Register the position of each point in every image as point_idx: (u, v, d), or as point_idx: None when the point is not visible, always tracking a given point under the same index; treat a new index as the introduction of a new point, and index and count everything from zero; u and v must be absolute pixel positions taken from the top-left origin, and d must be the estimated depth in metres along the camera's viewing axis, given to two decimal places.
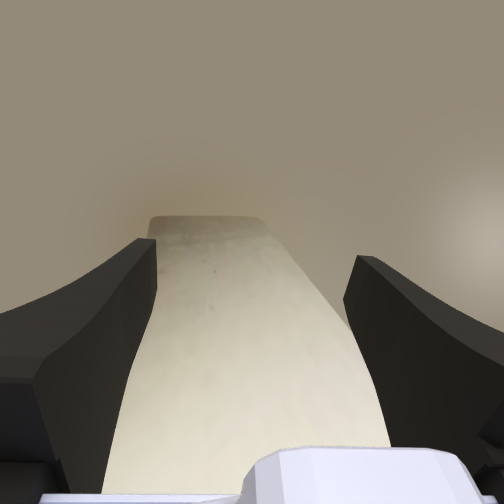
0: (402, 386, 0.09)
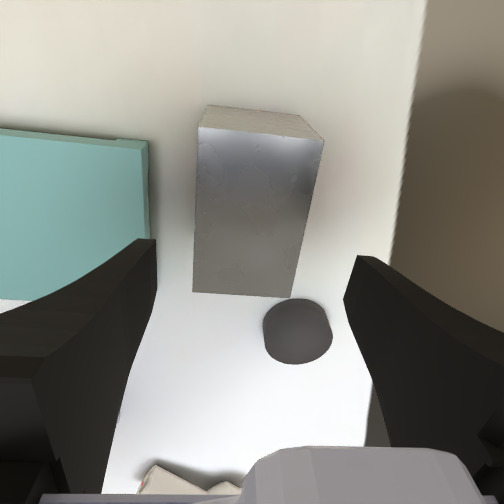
0: (402, 386, 0.09)
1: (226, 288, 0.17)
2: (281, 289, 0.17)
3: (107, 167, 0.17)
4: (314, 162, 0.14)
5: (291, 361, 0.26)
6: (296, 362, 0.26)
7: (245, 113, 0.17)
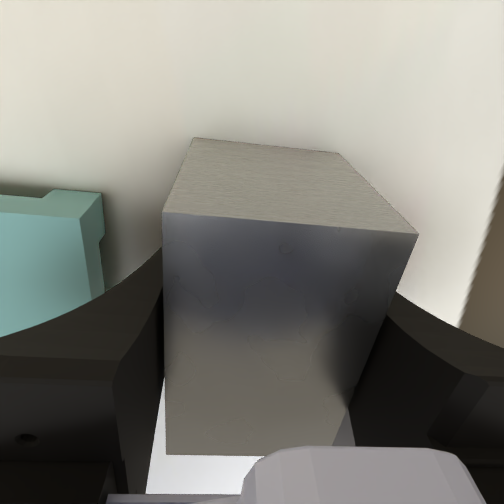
0: (365, 385, 0.09)
1: (222, 449, 0.10)
2: None
3: (25, 245, 0.10)
4: (394, 271, 0.07)
5: None
6: None
7: (254, 156, 0.10)
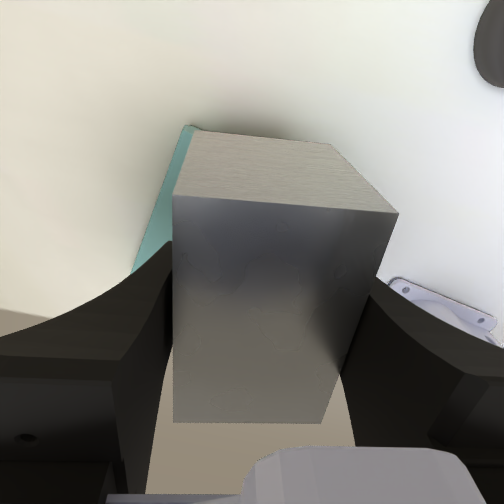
0: (365, 385, 0.09)
1: (225, 417, 0.11)
2: (309, 414, 0.11)
3: None
4: (378, 247, 0.08)
5: None
6: None
7: (252, 147, 0.11)
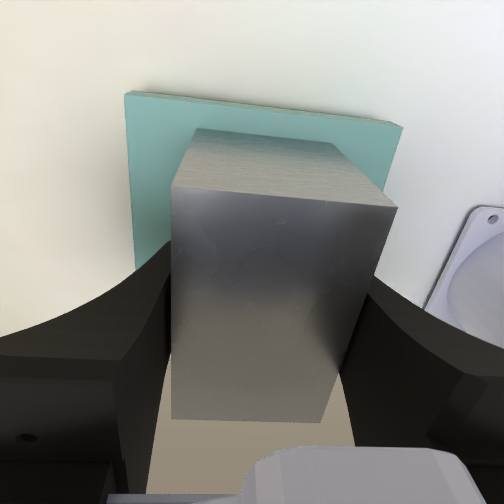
0: (365, 385, 0.09)
1: (223, 414, 0.11)
2: (308, 413, 0.11)
3: (157, 148, 0.13)
4: (376, 241, 0.08)
5: None
6: None
7: (253, 144, 0.11)
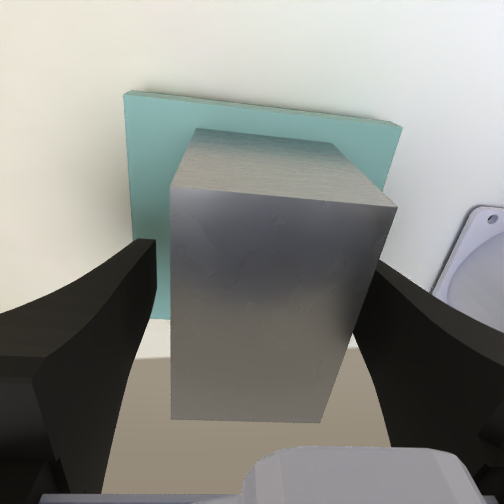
0: (402, 386, 0.09)
1: (223, 414, 0.11)
2: (308, 413, 0.11)
3: (156, 147, 0.13)
4: (376, 242, 0.08)
5: None
6: None
7: (252, 144, 0.11)
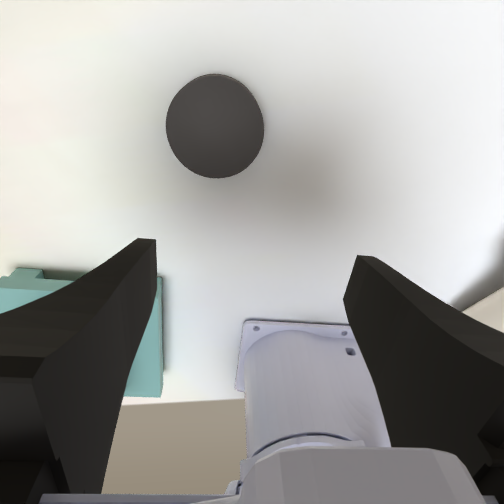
0: (402, 386, 0.09)
1: None
2: None
3: None
4: None
5: (256, 138, 0.18)
6: (259, 130, 0.18)
7: None
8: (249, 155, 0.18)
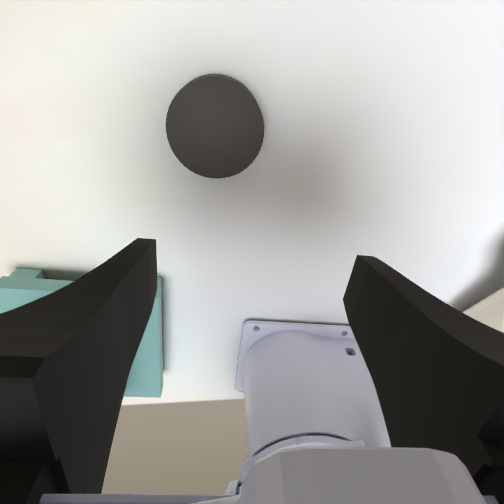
0: (402, 386, 0.09)
1: None
2: None
3: None
4: None
5: (256, 138, 0.18)
6: (259, 130, 0.18)
7: None
8: (249, 155, 0.18)
